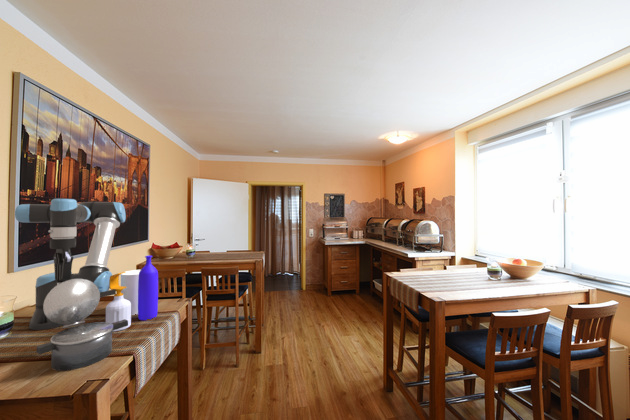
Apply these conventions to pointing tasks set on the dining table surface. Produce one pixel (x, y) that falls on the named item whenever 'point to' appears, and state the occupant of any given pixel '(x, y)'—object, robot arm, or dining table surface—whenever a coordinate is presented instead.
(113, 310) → the soap bottle
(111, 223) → the robot arm
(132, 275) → the canister
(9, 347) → the dining table surface
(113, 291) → the lid
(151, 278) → the bottle
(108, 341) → the pot
